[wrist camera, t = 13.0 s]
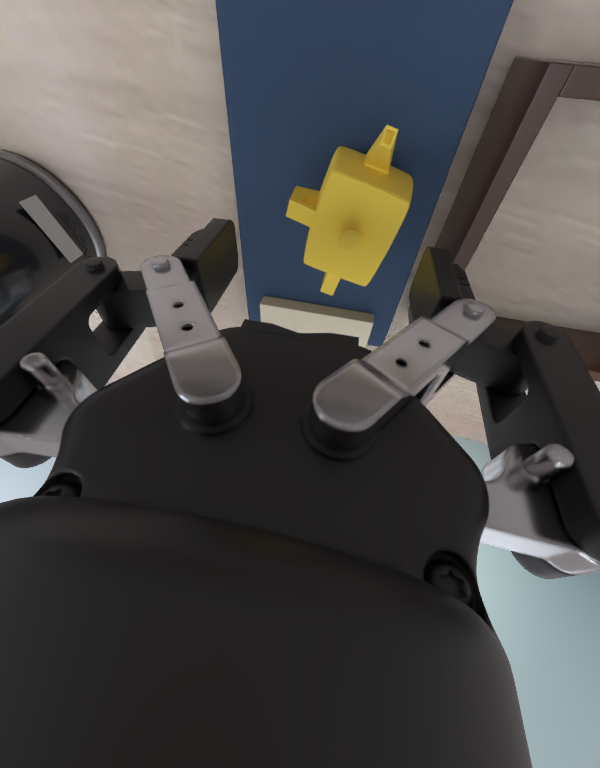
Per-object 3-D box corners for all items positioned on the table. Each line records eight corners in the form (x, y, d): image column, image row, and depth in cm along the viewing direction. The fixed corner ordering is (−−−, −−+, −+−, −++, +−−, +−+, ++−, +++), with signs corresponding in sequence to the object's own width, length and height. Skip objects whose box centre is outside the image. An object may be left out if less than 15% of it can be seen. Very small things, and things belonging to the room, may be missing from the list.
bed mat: (253, 316, 27) (245, 332, 25) (216, -100, 11) (188, -121, 10) (382, 338, 26) (381, 357, 24) (537, -83, 10) (563, -104, 9)
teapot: (326, 81, 13) (306, 95, 10) (436, 130, 14) (450, 159, 11) (286, 243, 20) (266, 283, 16) (364, 273, 20) (359, 318, 17)
